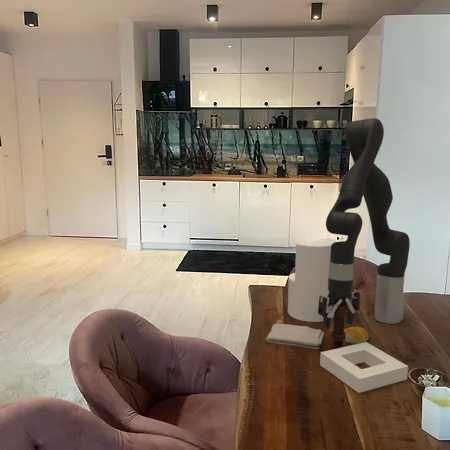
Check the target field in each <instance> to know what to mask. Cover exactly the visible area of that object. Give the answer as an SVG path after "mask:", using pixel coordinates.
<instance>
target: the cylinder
mask: <svg viewBox="0 0 450 450" xmlns="http://www.w3.org/2000/svg"><path fill="white" fill-rule="evenodd" d="M334 242H338V240H336V239H335V238H331V237H329V238H322V239H317V240H311V241H306V242H299V243H296V244H295V265H294V266H295V267H294V272H292V273H291V274H289V276H288V289H287V290H288V292H287V314H288V315H289V316H290V317H291V318H293V319H296V320H299V321H303V322H309V323H310V322H311V323H315V322H316V323H318V322H323V316H321V315H319V314H318V305H319V297H320V296H324V297H325V296H328V294H329V291H328V276H329V265H330V255H331V245H332V244H333V243H334ZM328 302H329V301H328ZM330 307H331V306H330ZM328 312H329V311H328ZM330 318H331V319H334V312H333V313H332V315H331V316H330Z"/></svg>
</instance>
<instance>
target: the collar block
mask: <svg viewBox="0 0 450 450" xmlns="http://www.w3.org/2000/svg"><path fill="white" fill-rule="evenodd" d="M319 357H320V358H319V359H320V361H319V365H320V367H322V368H324V369H325V370H326V371H327V372H329V373H331V374H332V375H333V376H334V377H336V378H337V379H339V381H341V382H343V383H344V384H345V385H346V386H348V387H349V388H351V389H352V390H354V391H355V392H357V394H361V393H364V392H368V391H372V390H375V389H378V388H382V387H385V386H390V385H392V384H395V383H398V382H399V383H400V382H403V381H407V380H408V372H409V365H407V364H405V363H403V362H402V361H400V360H398V359H396V358H395V357H393V356H391V355H390V354H388V353H386V352H384V351H382V350H381V349H379V348H377V347H376V346H374V345H372V344H370V343H368V342H367V341H365V342H361V343H358V344H355V343H354V344H352V345H347V346H343V347H342V348H338V349H333V348H332V349H329V350H325V351H321V352H320V356H319ZM361 363H364V364H366V365H368V366H369V367H365V368H360V367H359V366H357V365H358V364H361Z"/></svg>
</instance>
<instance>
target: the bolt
mask: <svg viewBox="0 0 450 450" xmlns="http://www.w3.org/2000/svg"><path fill="white" fill-rule="evenodd" d="M332 307H333V306H332V305H331V308H332ZM347 311H348V305H347V304H345V305H339V306H338V307H337V309H336V310H335V312H334V316H333V328H332V329H333V330H332V331H331V334H330V337H331V340H332V350H333V349H338V348H342V347H344V342H345V341H344V340H345V339H346V333H345V332H344V329H345V319H346V316H345V315H346V312H347Z"/></svg>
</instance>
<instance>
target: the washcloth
mask: <svg viewBox="0 0 450 450" xmlns="http://www.w3.org/2000/svg"><path fill="white" fill-rule="evenodd" d="M324 336H325V332H324V331H322V329H318V328H316V329H315V328H312V327H309V326H307V325H303V326H302V325H296V324H295V325H294V324H286V323H273V325H272V326H271V330H270V332H269V333H268V334H267V336H266V338H265V339H266V343H271V344H277V345H285V346H292V347H299V348H305V349H312V350H319V349H320V348H321V346H322V344H323V343H322V342H323V339H324Z"/></svg>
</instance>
